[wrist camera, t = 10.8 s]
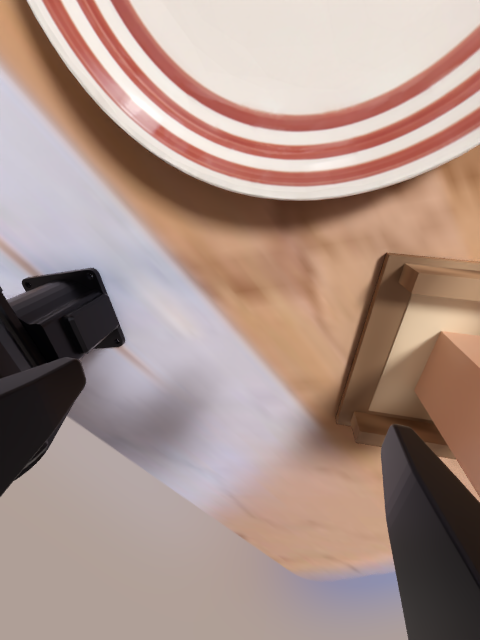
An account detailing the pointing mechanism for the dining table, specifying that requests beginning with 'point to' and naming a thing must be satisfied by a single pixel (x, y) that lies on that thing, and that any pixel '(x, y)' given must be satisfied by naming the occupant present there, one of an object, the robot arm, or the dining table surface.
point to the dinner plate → (281, 86)
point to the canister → (455, 397)
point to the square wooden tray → (407, 344)
